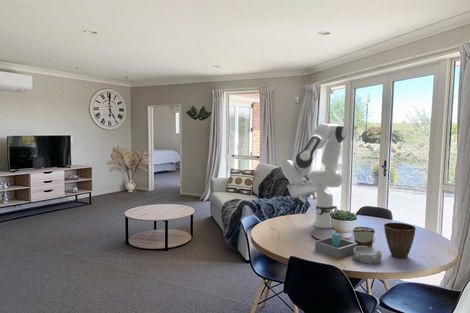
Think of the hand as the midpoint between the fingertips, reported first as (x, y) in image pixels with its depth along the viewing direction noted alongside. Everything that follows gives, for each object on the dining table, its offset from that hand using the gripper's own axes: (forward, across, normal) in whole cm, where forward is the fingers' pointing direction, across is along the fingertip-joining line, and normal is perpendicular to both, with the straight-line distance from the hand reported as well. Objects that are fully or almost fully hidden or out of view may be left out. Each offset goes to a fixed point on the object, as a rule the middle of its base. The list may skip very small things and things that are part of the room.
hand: (310, 200), depth 198 cm
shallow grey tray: (+32, -2, +3) cm, 32 cm away
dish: (+44, 0, -8) cm, 45 cm away
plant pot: (+50, +18, -14) cm, 55 cm away
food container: (+34, +19, +2) cm, 39 cm away
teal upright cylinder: (+32, -2, +3) cm, 32 cm away
